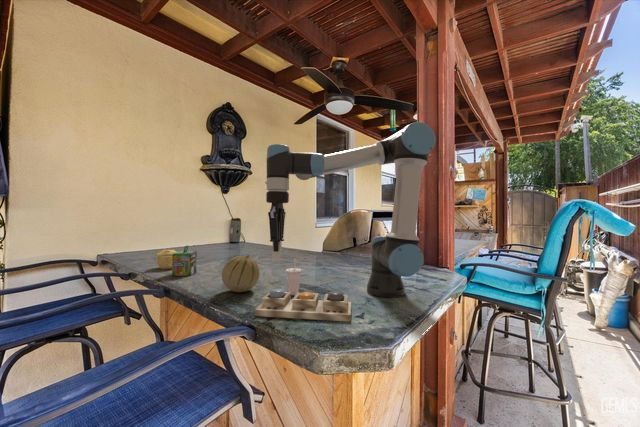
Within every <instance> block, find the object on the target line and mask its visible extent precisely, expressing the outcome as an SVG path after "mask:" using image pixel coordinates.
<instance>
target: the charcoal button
mask: <svg viewBox="0 0 640 427" xmlns="http://www.w3.org/2000/svg"><path fill="white" fill-rule="evenodd" d="M327 294H328V300H330V301H343V295H344V292H343V291H342V292H341V291H338V290H337V291H336V290H335V291H333V290H331V291H328V293H327Z"/></svg>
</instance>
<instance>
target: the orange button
mask: <svg viewBox="0 0 640 427" xmlns="http://www.w3.org/2000/svg"><path fill="white" fill-rule="evenodd" d="M298 293H299V299H310V300H313V293H312V292H309V291H304V292H298Z"/></svg>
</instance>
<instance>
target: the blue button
mask: <svg viewBox="0 0 640 427" xmlns="http://www.w3.org/2000/svg"><path fill="white" fill-rule="evenodd" d="M269 292H270V298H283V297H284V292H285V290H284V289H283V288H272V289H270V290H269Z"/></svg>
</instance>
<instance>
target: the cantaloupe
mask: <svg viewBox="0 0 640 427" xmlns="http://www.w3.org/2000/svg"><path fill="white" fill-rule="evenodd" d="M259 278H260V268H259V265H258V263H257V262H256V261H255V259H253V258H252V257H250V254H247V255H246V256H245V255H237V256H234V257H232V258H231V259H229V260H228V261H227V262H226V263H225V265H224V266H223V268H222V270H221V281H222V283H223V285H224V286H225V287H226V288H227V290H230V291H232V292H235V293H245V292H249V291H250V290H252V289H253V288H254V287H255V286H256V285H257V282H258V280H259Z"/></svg>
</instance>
